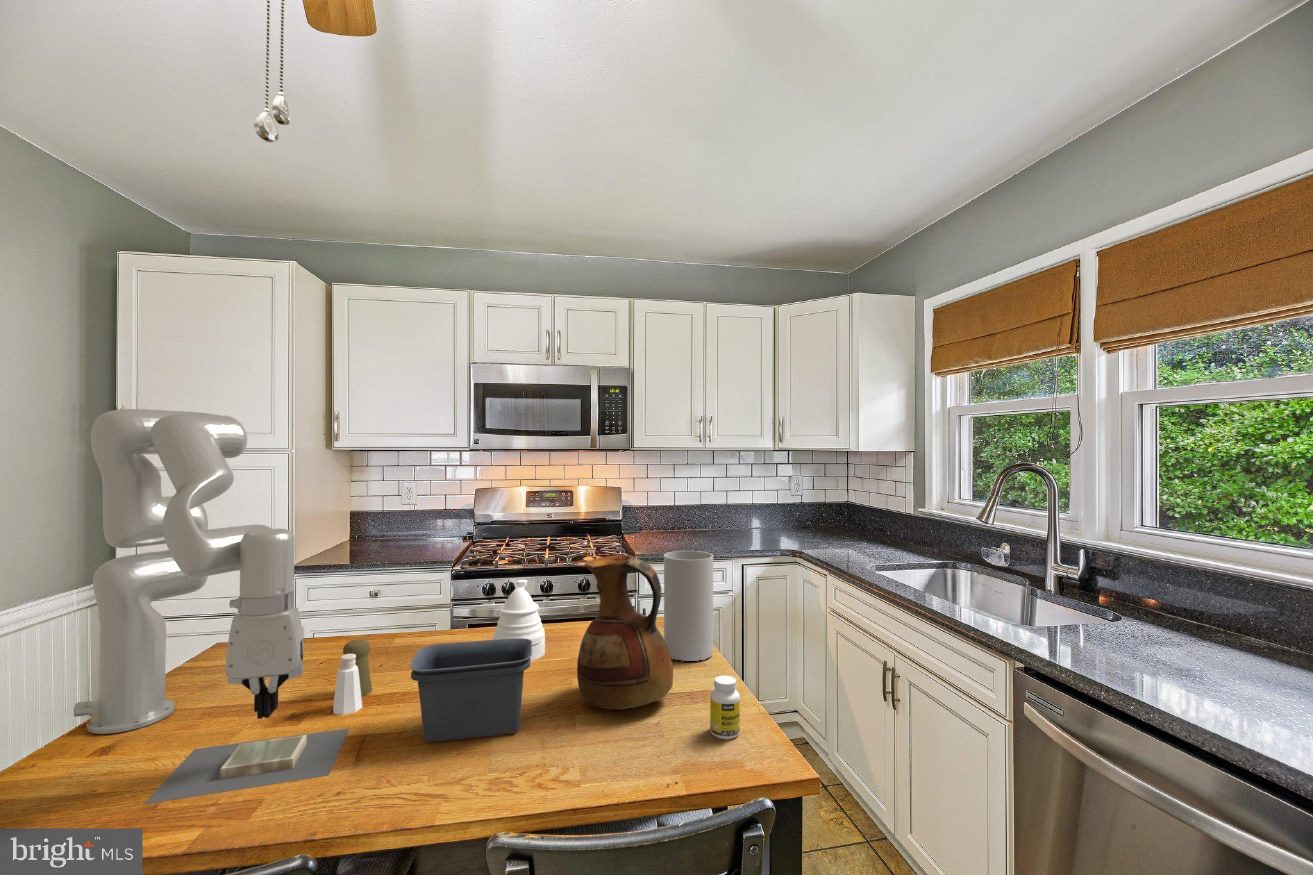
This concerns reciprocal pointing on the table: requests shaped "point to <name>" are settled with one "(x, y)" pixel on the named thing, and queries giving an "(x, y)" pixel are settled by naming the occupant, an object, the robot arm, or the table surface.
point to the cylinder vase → (688, 604)
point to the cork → (361, 662)
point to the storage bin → (471, 687)
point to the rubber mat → (204, 775)
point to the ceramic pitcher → (623, 642)
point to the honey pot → (521, 620)
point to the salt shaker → (347, 687)
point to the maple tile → (264, 756)
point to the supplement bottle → (725, 708)
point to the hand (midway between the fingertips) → (266, 714)
